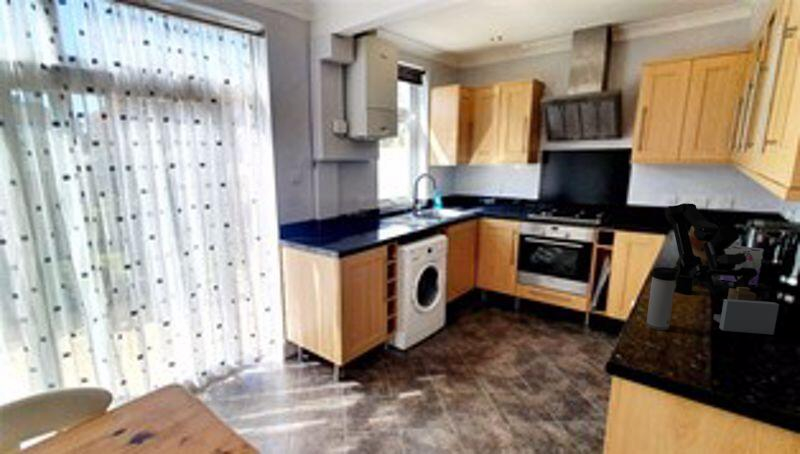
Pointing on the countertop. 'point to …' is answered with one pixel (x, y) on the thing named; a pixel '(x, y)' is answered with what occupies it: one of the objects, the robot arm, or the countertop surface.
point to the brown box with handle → (741, 294)
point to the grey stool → (748, 316)
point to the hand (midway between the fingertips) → (730, 295)
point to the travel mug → (661, 298)
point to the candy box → (752, 261)
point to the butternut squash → (698, 247)
